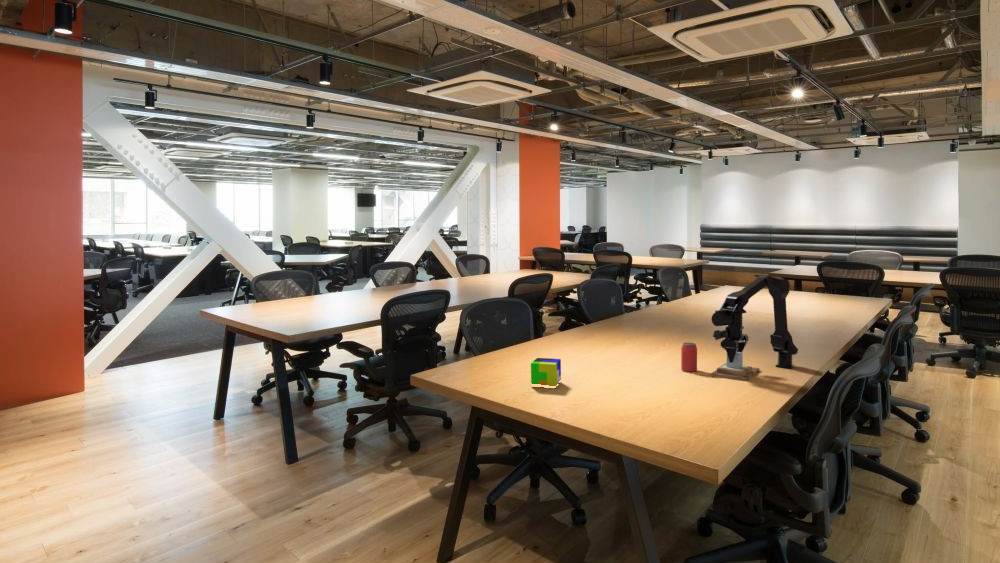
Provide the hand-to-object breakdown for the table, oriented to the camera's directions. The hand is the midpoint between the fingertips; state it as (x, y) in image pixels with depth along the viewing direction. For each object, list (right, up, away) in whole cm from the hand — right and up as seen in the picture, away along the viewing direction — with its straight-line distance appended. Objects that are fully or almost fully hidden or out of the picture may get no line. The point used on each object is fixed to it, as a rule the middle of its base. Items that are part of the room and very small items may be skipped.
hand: (734, 360), depth 242 cm
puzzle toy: (-81, -9, -8) cm, 82 cm away
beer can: (-16, -6, +9) cm, 19 cm away
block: (0, -3, 0) cm, 3 cm away
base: (+1, -6, +2) cm, 6 cm away
